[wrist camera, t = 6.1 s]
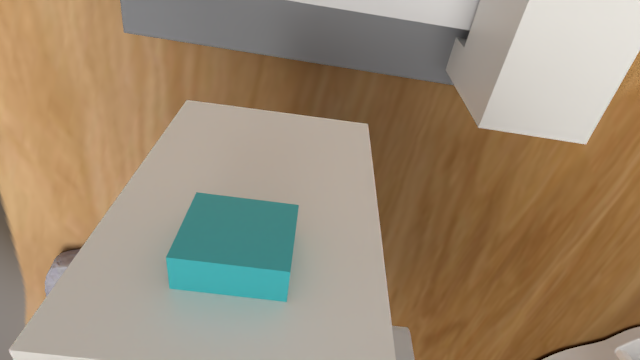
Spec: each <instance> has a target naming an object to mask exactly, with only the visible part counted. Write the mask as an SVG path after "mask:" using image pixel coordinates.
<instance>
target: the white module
mask: <svg viewBox="0 0 640 360" xmlns="http://www.w3.org/2000/svg"><path fill="white" fill-rule="evenodd" d="M9 352H10V354H11V356H12V358H13V360H396V356H395V348H394V339H393V331H392V322H391V314H390V305H389V297H388V288H387V280H386V272H385V263H384V255H383V246H382V238H381V229H380V221H379V212H378V204H377V195H376V187H375V178H374V170H373V162H372V153H371V145H370V136H369V128H368V124H365V123H358V122H350V121H343V120H335V119H328V118H320V117H313V116H305V115H297V114H290V113H282V112H275V111H267V110H260V109H252V108H244V107H237V106H229V105H222V104H214V103H207V102H199V101H191V100H186V102H185V103H184V105H183V106H182V107H181V109H180V110H179V112H178V113H177V114H176V116H175V117H174V119H173V120H172V121H171V123H170V124H169V126H168V127H167V128H166V130H165V131H164V133H163V134H162V135H161V137H160V138H159V140H158V141H157V142H156V144H155V145H154V147H153V148H152V150H151V151H150V152H149V154H148V155H147V157H146V158H145V159H144V161H143V162H142V164H141V165H140V166H139V168H138V169H137V171H136V172H135V173H134V175H133V176H132V178H131V179H130V180H129V182H128V183H127V185H126V186H125V187H124V189H123V190H122V192H121V193H120V194H119V196H118V197H117V199H116V200H115V201H114V203H113V204H112V206H111V207H110V208H109V210H108V211H107V213H106V214H105V215H104V217H103V218H102V220H101V221H100V222H99V224H98V225H97V227H96V228H95V229H94V231H93V232H92V234H91V235H90V237H89V238H88V239H87V241H86V242H85V244H84V245H83V246H82V248H81V249H80V251H79V252H78V253H77V255H76V256H75V258H74V259H73V260H72V262H71V263H70V265H69V266H68V267H67V269H66V270H65V272H64V273H63V274H62V276H61V277H60V279H59V280H58V281H57V283H56V284H55V286H54V287H53V288H52V290H51V291H50V293H49V294H48V295H47V297H46V298H45V300H44V301H43V302H42V304H41V305H40V307H39V308H38V309H37V311H36V312H35V314H34V315H33V316H32V318H31V319H30V321H29V322H28V323H27V325H26V326H25V328H24V329H23V331H22V332H21V333H20V335H19V336H18V338H17V339H16V340H15V342H14V343H13V345H12V346H11V347H10V349H9Z"/></svg>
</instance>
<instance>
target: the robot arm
mask: <svg viewBox="0 0 640 360" xmlns="http://www.w3.org/2000/svg"><path fill="white" fill-rule="evenodd" d="M392 331H393V339H394V348H395V356H396V360H415V359H414V352H413V346H412V340H411V334H410V331H409V329H408V328H407V327H401V326H392ZM542 360H640V327H636V328H632V329H629V330H627V331H624V332H622V333H619V334H617V335H615V336H613V337H611V338H609V339H607V340H604V341H601V342H597V343H593V344H588V345H584V346H579V347H575V348H571V349H568V350H564V351H561V352H559V353H556V354H553V355H551V356H549V357H546V358H544V359H542Z"/></svg>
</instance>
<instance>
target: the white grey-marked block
mask: <svg viewBox="0 0 640 360" xmlns="http://www.w3.org/2000/svg"><path fill="white" fill-rule="evenodd" d="M639 51H640V0H480V2H479V5H478V8H477V11H476V14H475V17H474V20H473V23H472V26H471V29H470V32H469V35H468V38H467V39H463V38H457V37H456V39H455V42H454V45H453V48H452V51H451V54H450V58H449V61H448V64H447V67H446V72H447V74H448V75H449V77H450V79H451V81H452V82H453V84H454V86H455V88H456V89H457V91H458V93H459V95H460V96H461V98H462V100H463V102H464V103H465V105H466V107H467V109H468V110H469V112H470V114H471V116H472V117H473V119H474V121H475V123H476V124H477V126H478V128H484V129H491V130H497V131H503V132H510V133H516V134H523V135H529V136H535V137H542V138H548V139H555V140H561V141H567V142H574V143H580V144H586V143H587V141H588V140H589V138H590V136H591V134H592V133H593V131H594V129H595V127H596V126H597V124H598V122H599V120H600V119H601V117H602V115H603V113H604V112H605V110H606V108H607V107H608V105H609V103H610V101H611V100H612V98H613V96H614V94H615V93H616V91H617V89H618V87H619V86H620V84H621V82H622V80H623V79H624V77H625V75H626V73H627V72H628V70H629V68H630V66H631V65H632V63H633V61H634V59H635V58H636V56H637V54H638V52H639Z"/></svg>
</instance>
